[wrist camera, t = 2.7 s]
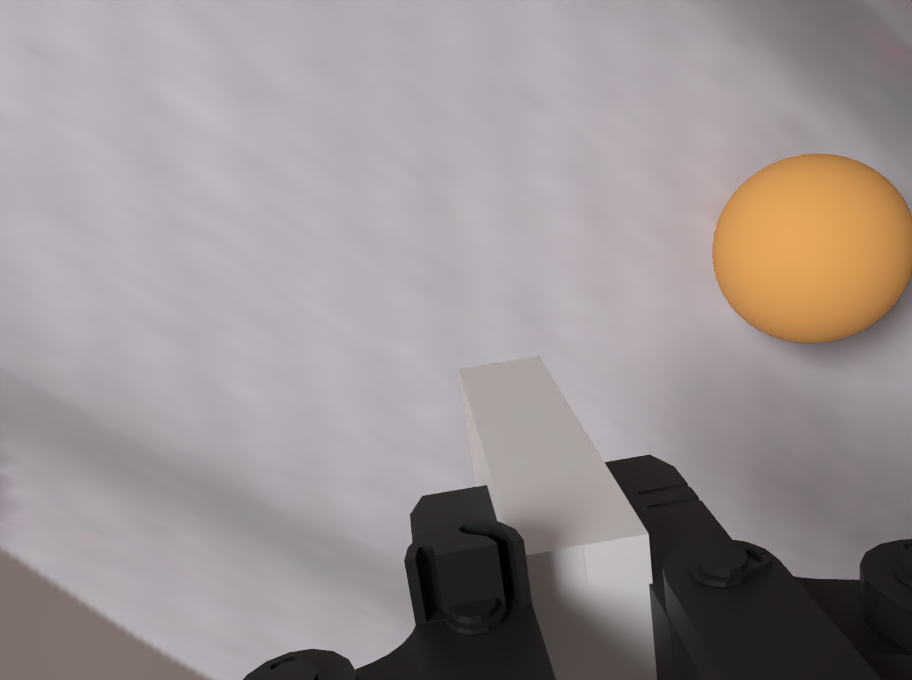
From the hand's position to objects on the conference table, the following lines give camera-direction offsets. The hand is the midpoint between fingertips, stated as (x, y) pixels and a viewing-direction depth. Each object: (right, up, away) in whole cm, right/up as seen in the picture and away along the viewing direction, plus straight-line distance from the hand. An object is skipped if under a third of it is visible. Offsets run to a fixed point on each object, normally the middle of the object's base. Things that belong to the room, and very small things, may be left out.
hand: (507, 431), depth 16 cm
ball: (+9, +4, +9) cm, 14 cm away
